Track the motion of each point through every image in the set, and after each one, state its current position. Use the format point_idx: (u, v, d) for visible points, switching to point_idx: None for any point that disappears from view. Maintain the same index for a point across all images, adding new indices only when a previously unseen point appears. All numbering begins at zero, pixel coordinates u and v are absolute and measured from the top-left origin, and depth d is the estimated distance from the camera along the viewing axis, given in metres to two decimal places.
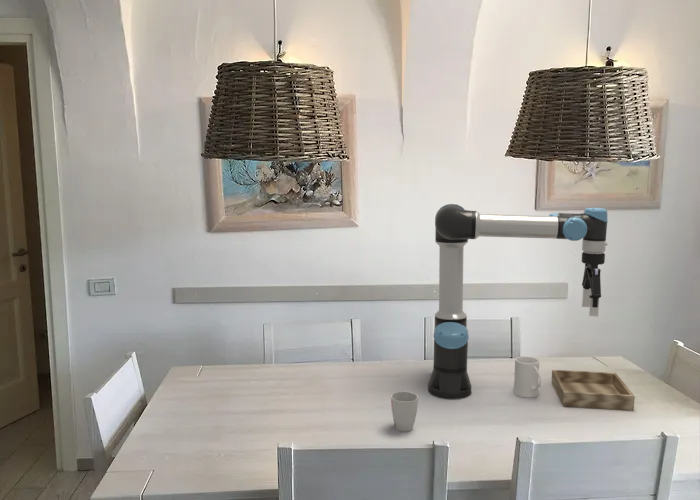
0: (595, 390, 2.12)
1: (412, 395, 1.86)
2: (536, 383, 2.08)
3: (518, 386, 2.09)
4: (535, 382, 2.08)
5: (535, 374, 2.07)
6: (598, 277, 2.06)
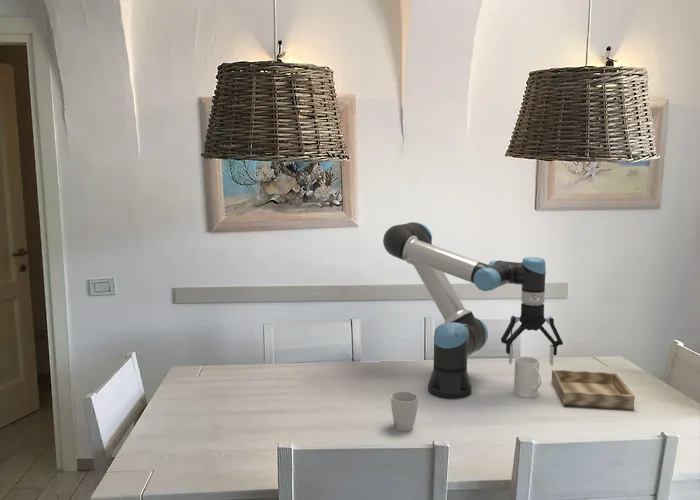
0: (595, 390, 2.12)
1: (412, 395, 1.86)
2: (536, 383, 2.08)
3: (518, 386, 2.09)
4: (535, 382, 2.08)
5: (535, 374, 2.07)
6: (510, 324, 2.07)
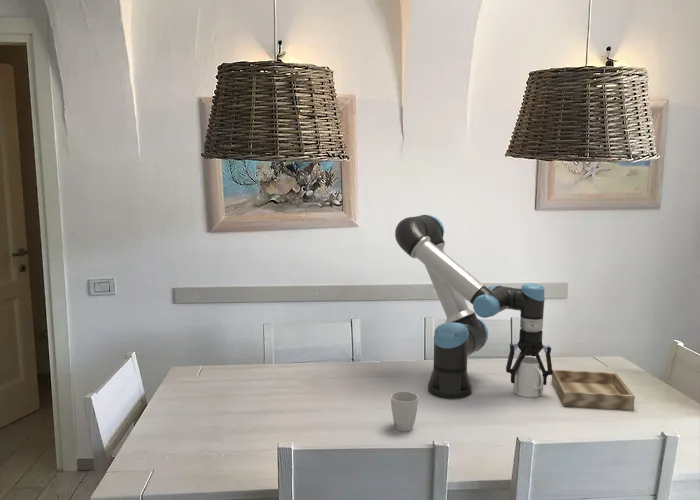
0: (595, 390, 2.12)
1: (412, 395, 1.86)
2: (538, 383, 2.08)
3: (520, 386, 2.09)
4: (537, 382, 2.08)
5: (537, 374, 2.07)
6: (510, 353, 2.09)
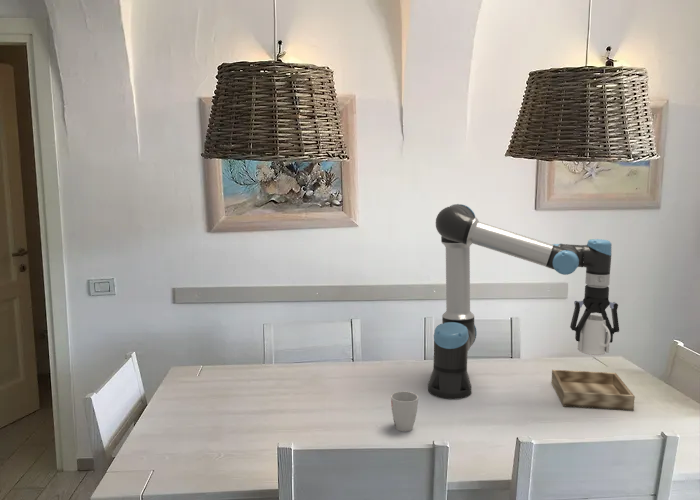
0: (595, 390, 2.12)
1: (412, 395, 1.86)
2: (604, 341, 2.05)
3: (585, 344, 2.06)
4: (603, 339, 2.04)
5: (603, 331, 2.04)
6: (575, 310, 2.05)
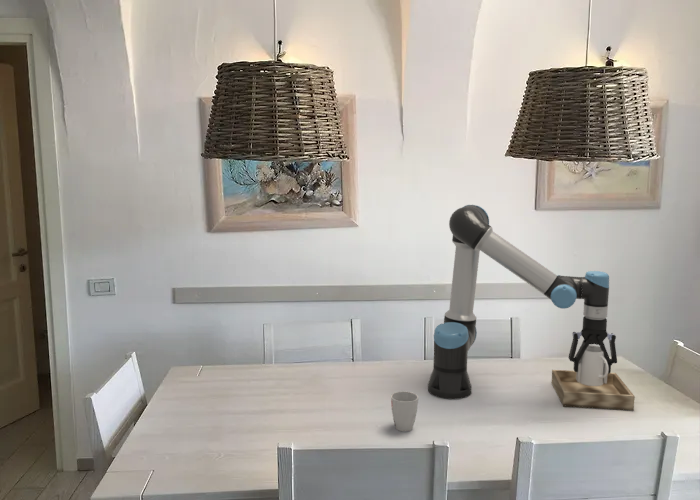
0: (595, 390, 2.12)
1: (412, 395, 1.86)
2: (602, 372, 2.06)
3: (583, 375, 2.07)
4: (601, 371, 2.06)
5: (601, 362, 2.05)
6: (573, 341, 2.07)
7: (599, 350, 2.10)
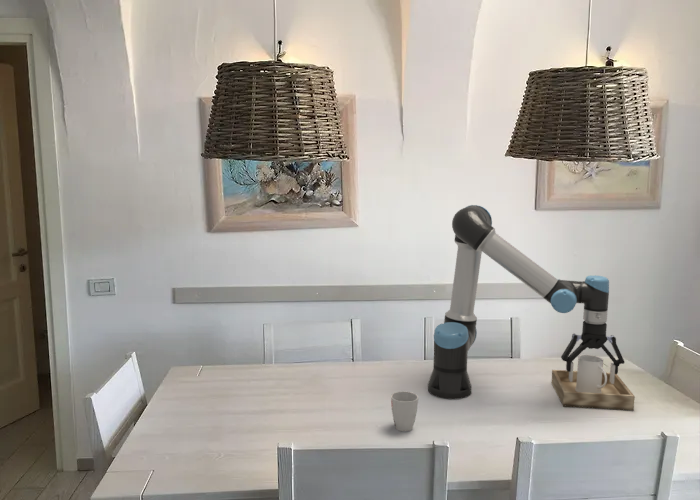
0: None
1: (412, 395, 1.86)
2: (600, 382, 2.07)
3: (582, 384, 2.08)
4: (599, 381, 2.07)
5: (599, 372, 2.06)
6: (571, 342, 2.07)
7: (597, 360, 2.11)
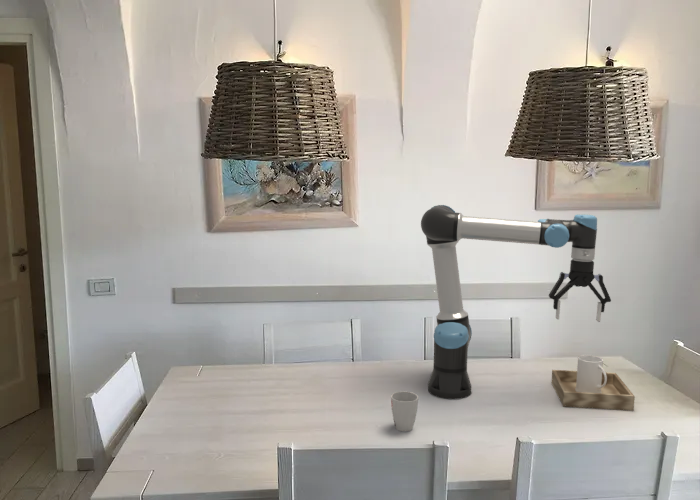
0: None
1: (412, 395, 1.86)
2: (600, 381, 2.07)
3: (582, 385, 2.08)
4: (599, 380, 2.07)
5: (599, 372, 2.06)
6: (558, 280, 2.10)
7: (597, 360, 2.11)
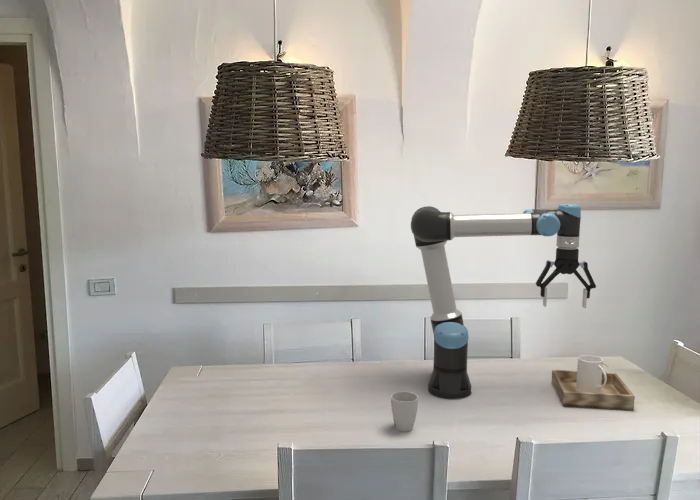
0: None
1: (412, 395, 1.86)
2: (600, 381, 2.07)
3: (582, 385, 2.08)
4: (599, 380, 2.07)
5: (599, 372, 2.06)
6: (545, 268, 2.15)
7: (597, 360, 2.11)
